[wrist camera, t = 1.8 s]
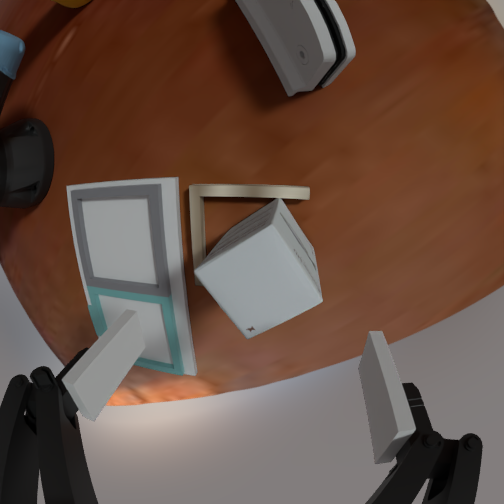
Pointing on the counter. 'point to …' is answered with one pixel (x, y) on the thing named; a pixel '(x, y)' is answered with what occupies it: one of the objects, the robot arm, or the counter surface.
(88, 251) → the pocket plate
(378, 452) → the robot arm
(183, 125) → the counter surface
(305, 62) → the gray curved slotted casing
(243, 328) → the supplement box
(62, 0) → the beer bottle
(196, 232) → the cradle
